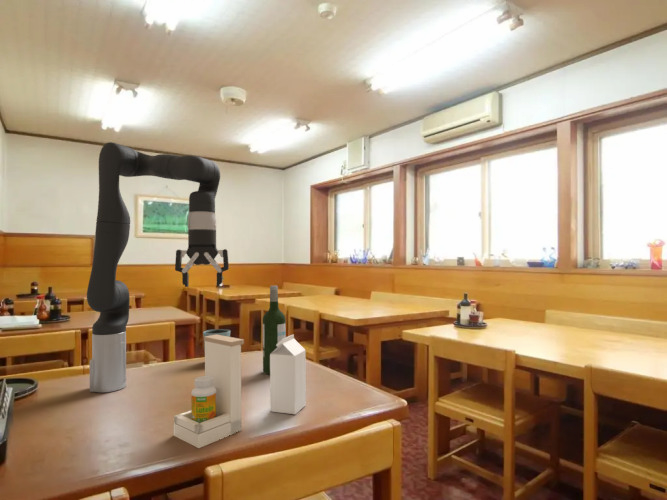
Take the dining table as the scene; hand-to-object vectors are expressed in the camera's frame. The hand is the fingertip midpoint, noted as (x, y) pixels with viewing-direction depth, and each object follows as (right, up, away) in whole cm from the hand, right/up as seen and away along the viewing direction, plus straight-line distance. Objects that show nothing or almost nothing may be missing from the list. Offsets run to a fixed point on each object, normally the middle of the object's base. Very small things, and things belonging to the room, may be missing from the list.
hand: (202, 286), depth 116 cm
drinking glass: (-8, -33, +42) cm, 54 cm away
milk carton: (+25, -32, -7) cm, 41 cm away
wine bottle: (+16, -33, +28) cm, 46 cm away
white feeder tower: (+8, -32, -21) cm, 39 cm away
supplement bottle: (+7, -29, -22) cm, 37 cm away
